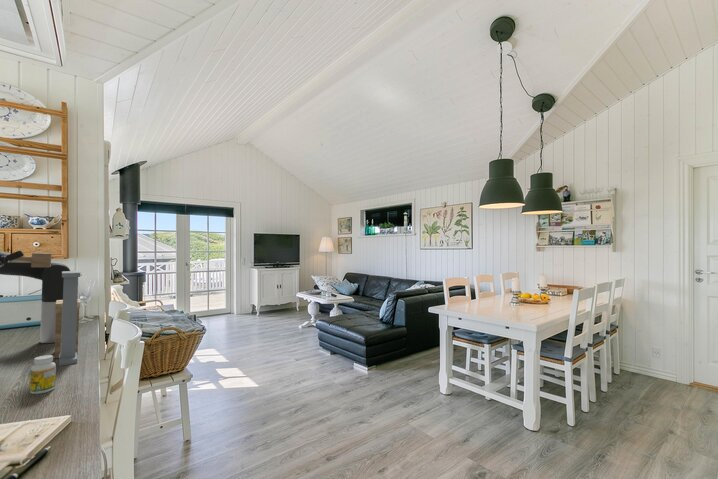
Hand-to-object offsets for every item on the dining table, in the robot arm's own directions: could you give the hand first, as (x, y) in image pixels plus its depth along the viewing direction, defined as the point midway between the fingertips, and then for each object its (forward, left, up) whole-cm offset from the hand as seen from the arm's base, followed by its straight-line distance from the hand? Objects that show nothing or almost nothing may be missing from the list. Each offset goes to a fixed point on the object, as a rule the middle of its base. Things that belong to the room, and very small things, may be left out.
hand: (21, 252), depth 124 cm
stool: (0, +13, -39) cm, 41 cm away
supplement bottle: (+39, +8, -39) cm, 55 cm away
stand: (+11, +14, -39) cm, 42 cm away
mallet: (0, +1, -5) cm, 5 cm away
